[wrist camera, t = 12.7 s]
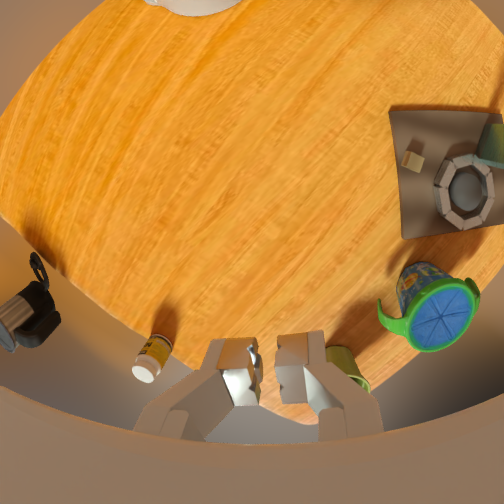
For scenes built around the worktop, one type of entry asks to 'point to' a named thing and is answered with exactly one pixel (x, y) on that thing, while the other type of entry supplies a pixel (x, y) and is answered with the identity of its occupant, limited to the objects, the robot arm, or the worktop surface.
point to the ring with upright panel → (487, 153)
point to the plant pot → (346, 364)
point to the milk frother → (29, 313)
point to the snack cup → (432, 307)
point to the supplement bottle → (152, 358)
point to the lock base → (430, 161)
